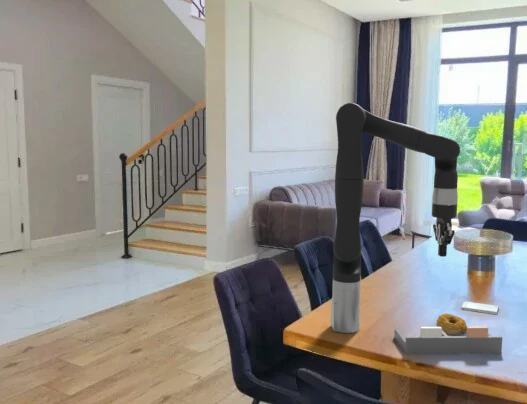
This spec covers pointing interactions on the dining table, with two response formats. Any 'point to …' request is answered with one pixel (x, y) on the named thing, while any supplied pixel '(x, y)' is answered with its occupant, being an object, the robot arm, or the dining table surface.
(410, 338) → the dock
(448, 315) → the bagel
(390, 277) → the dining table surface
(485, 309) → the hard drive
